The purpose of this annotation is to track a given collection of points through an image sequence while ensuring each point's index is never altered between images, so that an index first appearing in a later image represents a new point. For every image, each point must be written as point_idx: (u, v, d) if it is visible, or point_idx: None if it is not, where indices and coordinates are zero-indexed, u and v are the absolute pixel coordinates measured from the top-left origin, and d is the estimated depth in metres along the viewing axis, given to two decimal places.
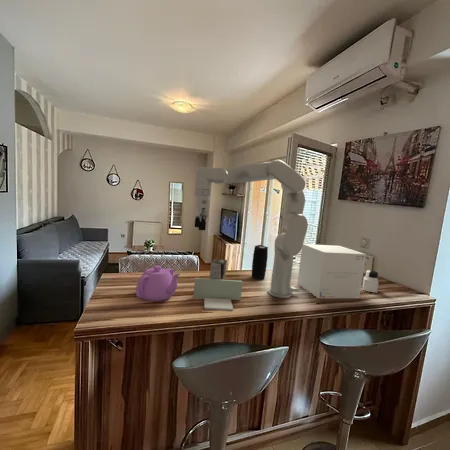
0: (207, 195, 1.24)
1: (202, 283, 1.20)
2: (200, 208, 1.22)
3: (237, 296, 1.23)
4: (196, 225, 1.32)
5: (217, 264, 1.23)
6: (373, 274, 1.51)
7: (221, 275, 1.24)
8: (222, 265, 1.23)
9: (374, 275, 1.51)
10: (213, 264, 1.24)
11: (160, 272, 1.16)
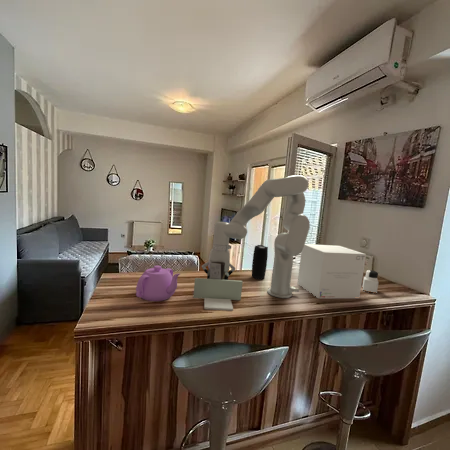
0: None
1: (202, 283, 1.20)
2: (229, 263, 1.27)
3: (237, 296, 1.23)
4: None
5: (217, 264, 1.23)
6: (373, 274, 1.51)
7: (221, 275, 1.24)
8: (222, 265, 1.23)
9: (374, 275, 1.51)
10: (213, 264, 1.24)
11: (160, 272, 1.16)
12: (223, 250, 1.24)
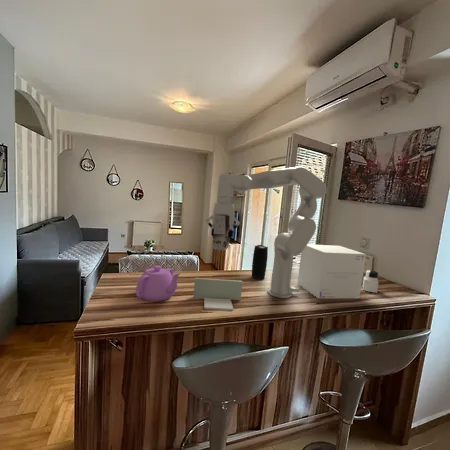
0: None
1: (202, 283, 1.20)
2: None
3: (237, 296, 1.23)
4: None
5: (221, 216, 1.20)
6: (373, 274, 1.51)
7: (226, 228, 1.20)
8: (227, 217, 1.20)
9: (374, 275, 1.51)
10: (217, 216, 1.21)
11: (160, 272, 1.16)
12: (228, 202, 1.20)
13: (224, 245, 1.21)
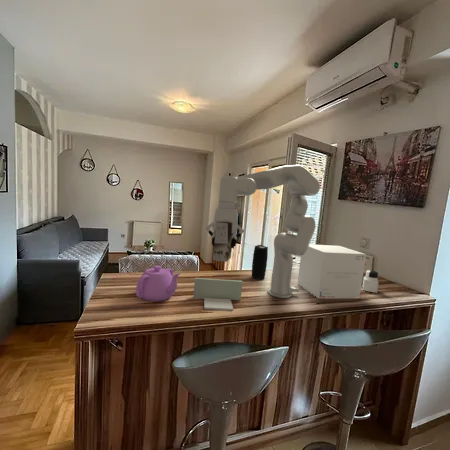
0: None
1: (202, 283, 1.20)
2: (237, 223, 1.11)
3: (237, 296, 1.23)
4: None
5: (223, 224, 1.07)
6: (373, 274, 1.51)
7: (228, 236, 1.07)
8: (229, 225, 1.07)
9: (374, 275, 1.51)
10: (219, 224, 1.08)
11: (160, 272, 1.16)
12: (230, 208, 1.07)
13: (226, 256, 1.08)
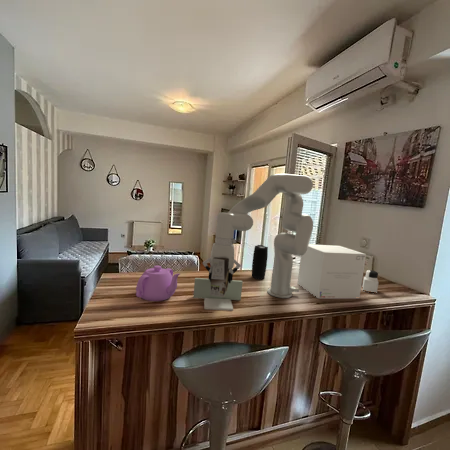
0: None
1: (202, 283, 1.20)
2: (234, 259, 1.12)
3: (237, 296, 1.23)
4: None
5: (220, 260, 1.09)
6: (373, 274, 1.51)
7: (225, 273, 1.09)
8: (226, 261, 1.09)
9: (374, 275, 1.51)
10: (216, 260, 1.09)
11: (160, 272, 1.16)
12: (227, 244, 1.09)
13: (223, 291, 1.10)
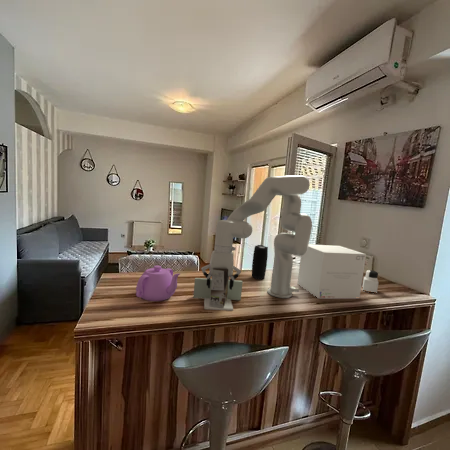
0: None
1: (202, 283, 1.20)
2: (233, 266, 1.13)
3: (237, 296, 1.23)
4: (209, 286, 1.13)
5: (220, 271, 1.09)
6: (373, 274, 1.51)
7: (224, 283, 1.10)
8: (225, 272, 1.09)
9: (374, 275, 1.51)
10: (215, 271, 1.10)
11: (160, 272, 1.16)
12: (226, 252, 1.09)
13: (222, 302, 1.11)
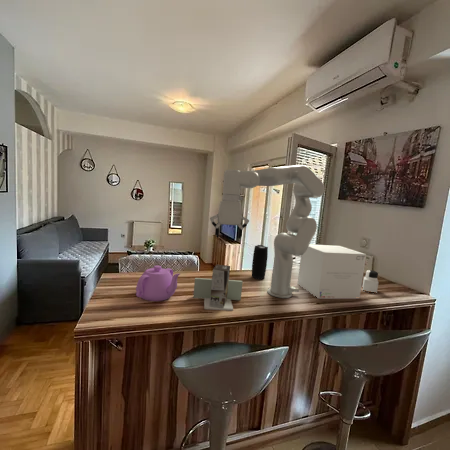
0: None
1: (202, 283, 1.20)
2: None
3: (237, 296, 1.23)
4: (218, 235, 1.15)
5: (220, 271, 1.10)
6: (373, 274, 1.51)
7: (224, 283, 1.10)
8: (226, 272, 1.09)
9: (374, 275, 1.51)
10: (215, 271, 1.10)
11: (160, 272, 1.16)
12: (234, 200, 1.11)
13: (223, 302, 1.11)
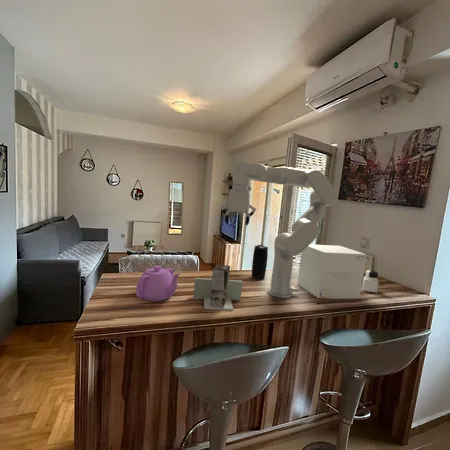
0: None
1: (202, 283, 1.20)
2: None
3: (237, 296, 1.23)
4: (227, 221, 1.27)
5: (220, 271, 1.10)
6: (373, 274, 1.51)
7: (224, 283, 1.10)
8: (226, 272, 1.09)
9: (374, 275, 1.51)
10: (215, 271, 1.10)
11: (160, 272, 1.16)
12: (243, 190, 1.23)
13: (223, 302, 1.11)
